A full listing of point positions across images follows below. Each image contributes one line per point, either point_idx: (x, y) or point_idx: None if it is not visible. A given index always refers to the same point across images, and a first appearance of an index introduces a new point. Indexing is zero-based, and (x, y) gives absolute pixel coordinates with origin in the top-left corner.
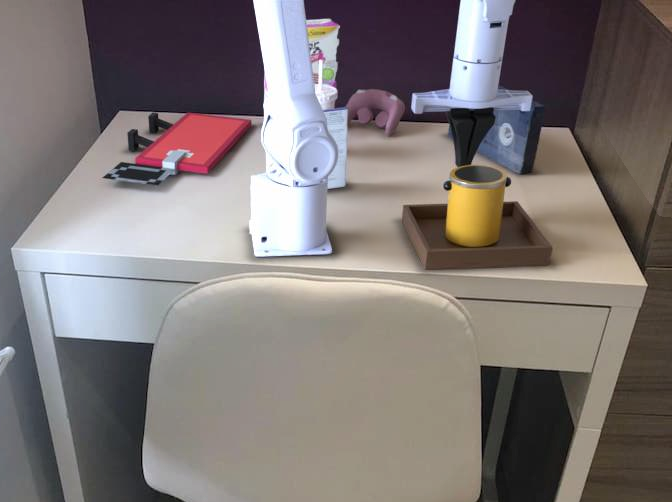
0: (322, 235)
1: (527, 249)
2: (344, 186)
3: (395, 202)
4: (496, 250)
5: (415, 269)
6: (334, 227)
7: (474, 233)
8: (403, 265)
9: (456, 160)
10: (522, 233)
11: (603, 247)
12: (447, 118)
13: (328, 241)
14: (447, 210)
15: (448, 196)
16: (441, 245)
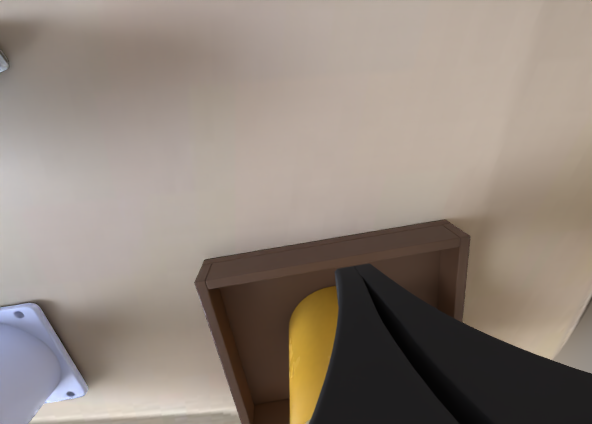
0: (46, 397)
1: None
2: (6, 68)
3: (182, 158)
4: None
5: (234, 402)
6: (63, 296)
7: None
8: (215, 396)
9: (338, 292)
10: (432, 303)
11: (547, 310)
12: (311, 422)
13: (68, 370)
14: (289, 370)
15: (290, 397)
16: (278, 357)
